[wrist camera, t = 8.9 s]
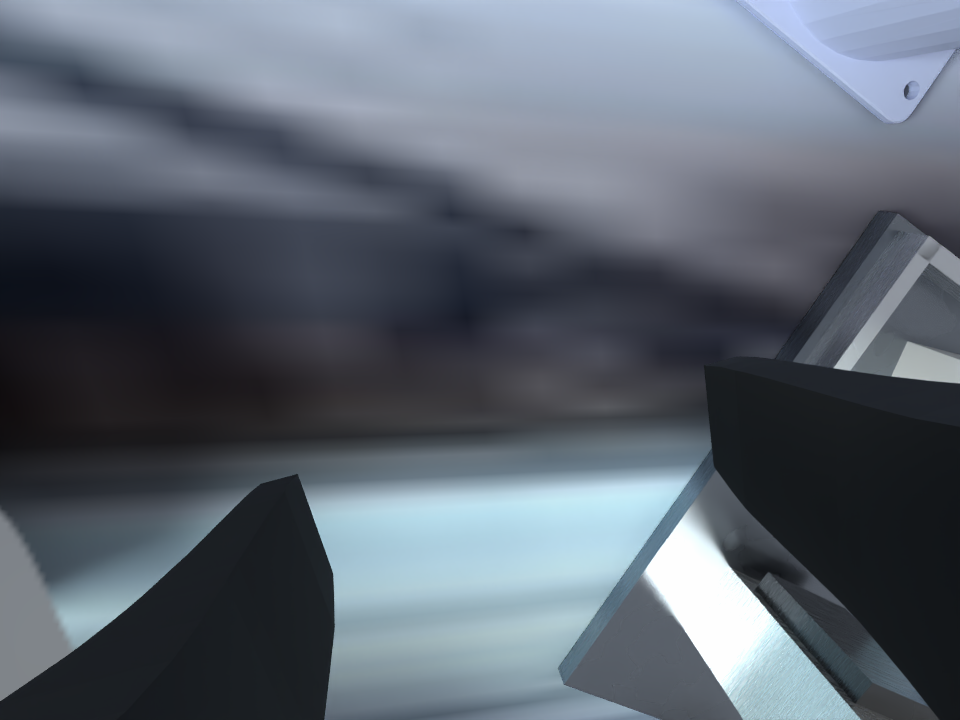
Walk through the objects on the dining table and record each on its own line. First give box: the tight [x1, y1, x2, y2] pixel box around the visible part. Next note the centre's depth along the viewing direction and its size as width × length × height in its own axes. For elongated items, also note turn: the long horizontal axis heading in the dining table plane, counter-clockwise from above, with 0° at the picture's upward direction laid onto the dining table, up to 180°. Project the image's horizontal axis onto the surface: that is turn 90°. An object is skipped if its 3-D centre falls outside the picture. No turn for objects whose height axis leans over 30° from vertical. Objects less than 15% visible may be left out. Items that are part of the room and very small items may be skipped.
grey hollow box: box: [558, 211, 960, 720], centre depth 21 cm, size 20×11×8 cm, turn 149°
